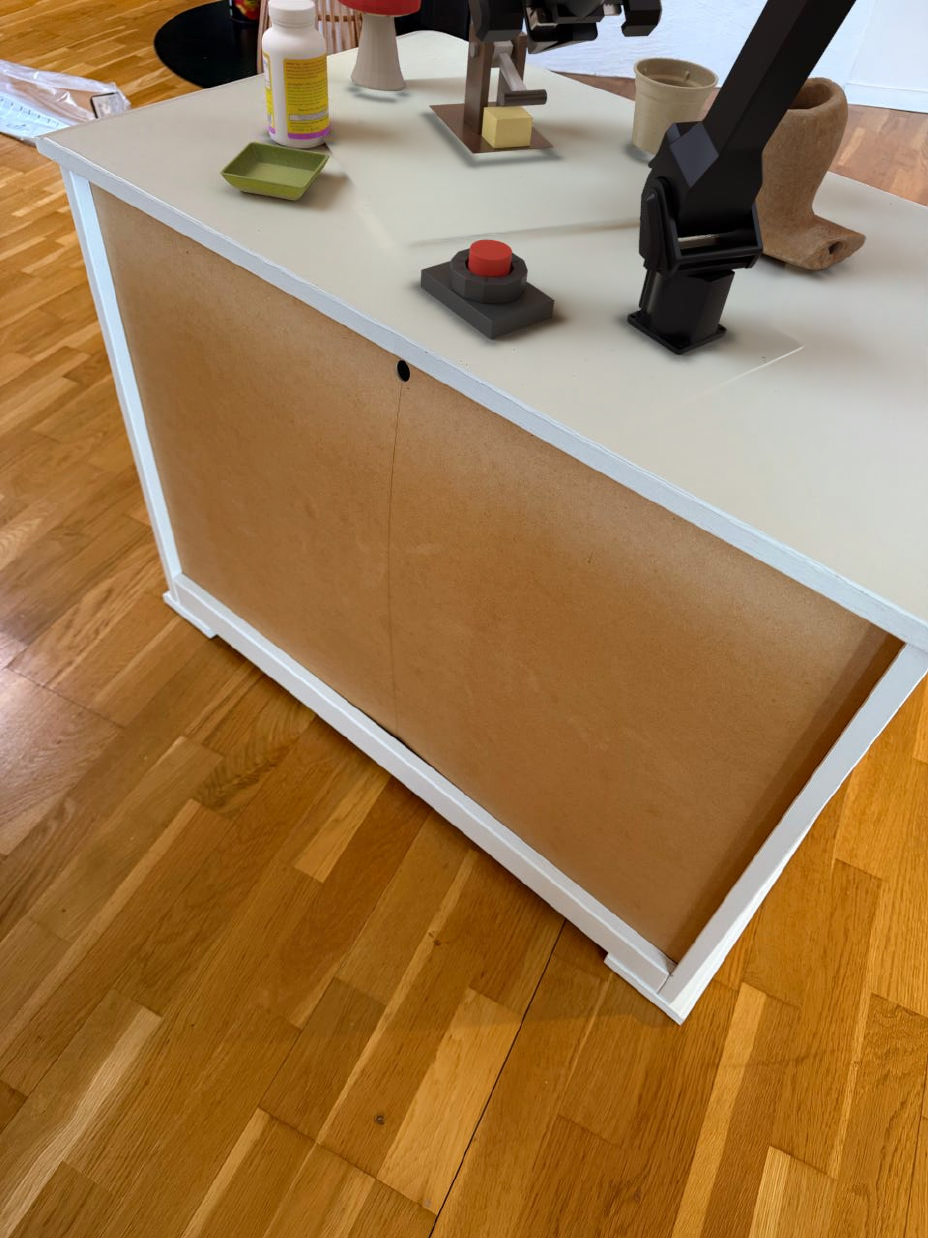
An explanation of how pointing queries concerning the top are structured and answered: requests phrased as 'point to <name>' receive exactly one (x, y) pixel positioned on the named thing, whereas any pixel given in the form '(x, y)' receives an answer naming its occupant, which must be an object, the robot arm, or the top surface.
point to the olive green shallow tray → (274, 170)
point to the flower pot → (667, 97)
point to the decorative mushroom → (379, 43)
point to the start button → (490, 258)
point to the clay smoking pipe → (804, 180)
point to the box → (488, 295)
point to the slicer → (484, 96)
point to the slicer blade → (514, 80)
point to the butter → (507, 126)
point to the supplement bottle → (295, 75)
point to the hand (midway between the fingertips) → (530, 48)
